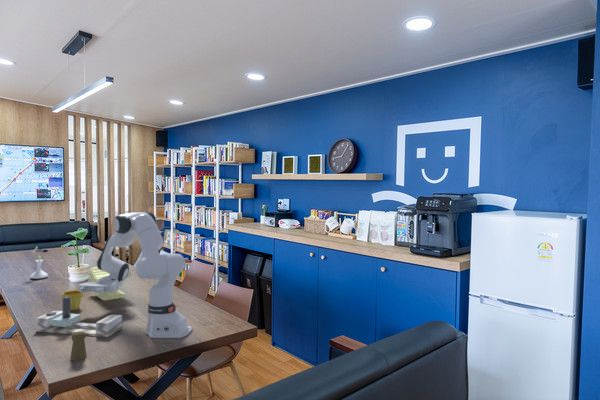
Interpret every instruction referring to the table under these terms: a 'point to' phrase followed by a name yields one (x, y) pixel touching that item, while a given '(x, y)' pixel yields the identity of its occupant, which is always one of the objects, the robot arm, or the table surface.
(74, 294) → the plant pot
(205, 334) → the table surface
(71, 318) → the carriage
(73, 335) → the olive brown pepper mill
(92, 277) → the slatted curved stool
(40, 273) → the flower in vase
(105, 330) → the rail track
